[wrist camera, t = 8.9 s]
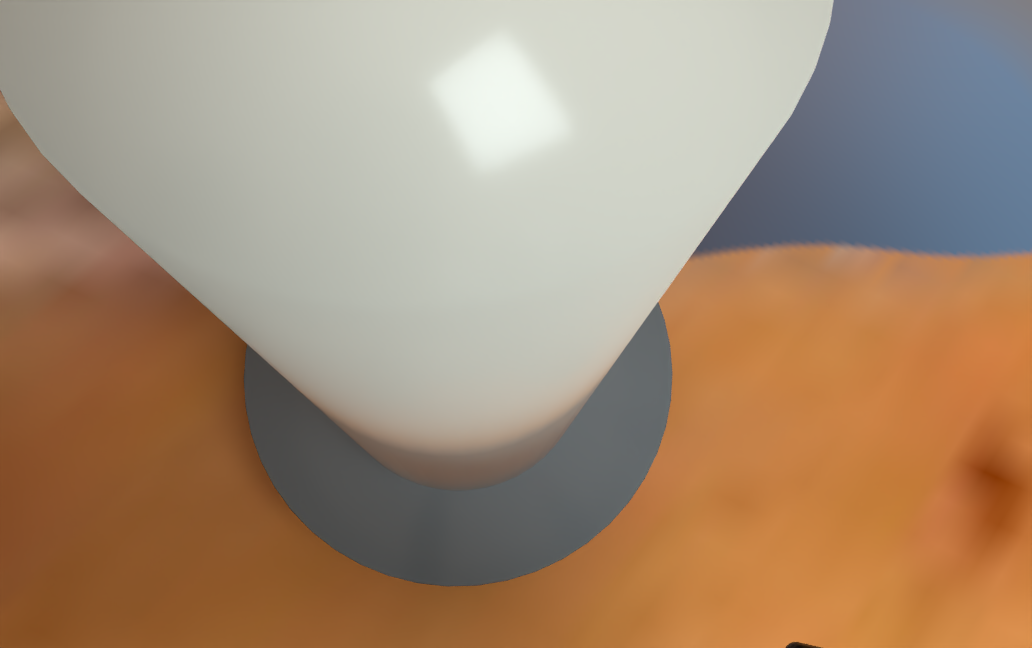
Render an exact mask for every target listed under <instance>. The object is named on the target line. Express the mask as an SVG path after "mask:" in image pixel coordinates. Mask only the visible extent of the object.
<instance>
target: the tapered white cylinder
mask: <svg viewBox="0 0 1032 648" xmlns="http://www.w3.org/2000/svg"><path fill="white" fill-rule="evenodd" d="M833 1H834V0H0V90H1V92H2V94H3V96H4V98H5V100H6V102H7V104H8V106H9V108H10V110H11V111H12V113H13V114H14V115H15V117H16V118H17V120H18V121H19V122H20V124H21V125H22V127H23V128H24V130H25V131H26V132H27V134H28V135H29V137H30V138H31V139H32V141H33V142H34V144H35V145H36V146H37V148H38V149H39V151H40V152H41V153H42V155H43V156H44V157H45V158H46V159H47V160H48V161H49V162H50V163H51V164H52V165H53V166H54V167H55V168H56V169H57V170H58V171H59V172H60V173H61V174H62V175H63V176H64V177H65V178H66V179H67V180H68V181H69V182H70V183H71V184H72V185H73V186H74V187H75V188H76V190H77V191H78V192H79V193H80V194H81V195H82V196H84V197H85V198H86V199H87V200H88V201H89V202H90V203H91V204H92V205H94V206H95V207H96V208H97V209H98V210H99V211H100V212H101V213H102V214H103V215H105V216H106V217H107V218H108V219H109V220H110V221H111V222H112V223H113V224H115V225H116V226H117V227H118V228H119V229H120V230H121V231H122V232H123V233H125V234H126V235H127V236H128V237H129V238H130V239H131V240H132V241H133V242H135V243H136V244H137V245H138V246H139V247H140V248H141V249H142V250H143V251H145V252H146V253H147V254H148V255H149V256H150V257H151V258H152V259H153V260H155V261H156V262H157V263H158V264H159V265H160V266H161V267H162V268H163V269H165V270H166V271H167V272H168V273H169V274H170V275H171V276H172V277H173V278H174V279H176V280H177V281H178V282H179V283H180V284H181V285H182V286H183V287H184V288H186V289H187V290H188V291H189V292H190V293H191V294H192V295H193V296H194V297H196V298H197V299H198V300H199V301H200V302H201V303H202V304H203V305H204V306H206V307H207V308H208V309H209V310H210V311H211V312H212V313H213V314H214V315H216V316H217V317H218V318H219V319H220V320H221V321H222V322H223V323H224V324H226V325H227V326H228V327H229V328H230V329H231V330H232V331H233V332H234V333H235V334H237V335H238V336H239V337H240V338H241V339H242V340H243V341H244V342H245V343H247V344H248V345H249V346H250V347H251V348H252V349H253V350H254V351H255V352H257V353H258V354H259V355H260V356H261V357H262V358H263V359H264V360H265V361H267V362H268V363H269V364H270V365H271V366H272V367H273V368H274V369H275V370H277V371H278V372H279V373H280V374H281V375H282V376H283V377H284V378H285V379H287V380H288V381H289V382H290V383H291V384H292V385H293V386H294V387H295V388H296V389H298V390H299V391H300V392H301V393H302V394H303V395H304V396H305V397H306V398H308V399H309V400H310V401H311V402H312V403H313V404H314V405H315V406H316V407H318V408H319V409H320V410H321V411H322V412H323V413H324V414H325V415H326V416H328V417H329V418H330V419H331V420H332V421H333V422H334V423H335V424H336V425H338V426H339V427H340V428H341V429H342V430H343V431H344V432H345V433H346V434H348V435H349V436H350V437H351V438H352V439H353V440H354V441H355V442H356V443H357V444H359V445H360V446H361V447H362V448H363V449H364V450H365V451H366V452H367V453H369V454H370V455H371V456H372V457H373V458H374V459H375V460H376V461H378V462H379V463H380V464H382V465H383V466H384V467H386V468H387V469H388V470H390V471H391V472H393V473H395V474H397V475H398V476H400V477H402V478H404V479H406V480H409V481H411V482H414V483H416V484H419V485H422V486H426V487H430V488H434V489H441V490H450V491H466V490H475V489H482V488H487V487H490V486H494V485H497V484H501V483H503V482H506V481H508V480H510V479H512V478H515V477H517V476H519V475H520V474H522V473H523V472H525V471H527V470H528V469H530V468H532V467H533V466H534V465H535V464H537V463H538V462H539V461H540V460H541V459H543V458H544V457H545V456H546V455H547V454H548V453H549V452H550V451H551V450H552V448H553V447H554V446H555V445H556V444H557V442H558V441H559V440H560V438H561V437H562V436H563V434H564V433H565V431H566V430H567V429H568V427H569V426H570V424H571V423H572V422H573V420H574V419H575V417H576V416H577V415H578V413H579V412H580V410H581V409H582V408H583V406H584V405H585V403H586V402H587V401H588V399H589V398H590V396H591V395H592V394H593V392H594V391H595V389H596V388H597V387H598V385H599V384H600V382H601V381H602V380H603V378H604V377H605V375H606V374H607V373H608V371H609V370H610V368H611V367H612V366H613V364H614V363H615V361H616V360H617V359H618V357H619V356H620V354H621V353H622V352H623V350H624V349H625V347H626V346H627V345H628V343H629V342H630V340H631V339H632V338H633V336H634V335H635V333H636V332H637V330H638V329H639V328H640V326H641V325H642V323H643V322H644V321H645V319H646V318H647V316H648V315H649V314H650V312H651V311H652V309H653V308H654V307H655V305H656V304H657V302H658V301H659V300H660V298H661V297H662V295H663V294H664V293H665V291H666V290H667V288H668V287H669V286H670V284H671V283H672V281H673V280H674V279H675V277H676V276H677V274H678V273H679V272H680V270H681V269H682V267H683V266H684V265H685V263H686V262H687V260H688V259H689V258H690V256H691V255H692V253H693V252H694V251H695V249H696V248H697V246H698V245H699V244H700V242H701V241H702V239H703V238H704V237H705V235H706V234H707V232H708V231H709V230H710V228H711V227H712V225H713V224H714V223H715V221H716V220H717V218H718V217H719V216H720V214H721V213H722V211H723V210H724V209H725V207H726V206H727V204H728V203H729V201H730V200H731V199H732V197H733V196H734V195H735V193H736V192H737V190H738V189H739V188H740V186H741V185H742V183H743V182H744V180H745V179H746V178H747V176H748V175H749V174H750V172H751V170H752V169H753V168H754V166H755V165H756V164H757V162H758V161H759V159H760V158H761V157H762V155H763V154H764V152H765V151H766V150H767V148H768V146H769V145H770V144H771V143H772V141H773V140H774V138H775V137H776V136H777V134H778V133H779V131H780V130H781V129H782V127H783V126H784V124H785V123H786V122H787V120H788V119H789V117H790V116H791V115H792V113H793V111H794V109H795V107H796V105H797V103H798V101H799V99H800V97H801V95H802V93H803V91H804V89H805V87H806V85H807V84H808V82H809V80H810V78H811V76H812V73H813V72H814V70H815V67H816V64H817V61H818V58H819V55H820V52H821V49H822V46H823V43H824V40H825V37H826V34H827V31H828V28H829V24H830V19H831V13H832V6H833Z"/></svg>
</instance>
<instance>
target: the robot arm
mask: <svg viewBox="0 0 1032 648" xmlns="http://www.w3.org/2000/svg"><path fill="white" fill-rule="evenodd" d="M786 648H821V647H817V646H812V645H808V644H804V643H799V642H792V643H790V644H789V645H787V646H786Z"/></svg>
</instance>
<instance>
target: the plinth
mask: <svg viewBox="0 0 1032 648" xmlns="http://www.w3.org/2000/svg"><path fill="white" fill-rule="evenodd" d="M244 388H245V402H246V410H247V415H248V420H249V425H250V430H251V434H252V437H253V440H254V443H255V446H256V449H257V451H258V454H259V457H260V460H261V462H262V464H263V466H264V468H265V470H266V472H267V474H268V475H269V477H270V479H271V481H272V483H273V485H274V487H275V488H276V490H277V491H278V492H279V494H280V495H281V497H282V498H283V499H284V501H285V502H286V503H287V505H288V506H289V508H290V509H291V510H292V511H293V512H294V513H295V515H296V516H297V517H298V518H299V519H300V520H301V521H302V522H303V523H304V524H305V525H306V526H307V527H308V528H309V529H310V530H311V531H312V532H313V533H314V534H316V535H317V536H318V537H320V538H321V539H322V540H323V541H325V542H326V543H327V544H328V545H330V546H331V547H332V548H334V549H335V550H337V551H338V552H340V553H342V554H343V555H345V556H347V557H349V558H350V559H352V560H354V561H356V562H357V563H359V564H361V565H363V566H366V567H368V568H371V569H373V570H376V571H378V572H381V573H383V574H385V575H388V576H392V577H396V578H400V579H404V580H408V581H412V582H416V583H422V584H431V585H441V586H473V585H483V584H489V583H495V582H501V581H507V580H510V579H513V578H517V577H520V576H523V575H526V574H529V573H533V572H536V571H538V570H540V569H542V568H544V567H546V566H549V565H551V564H553V563H555V562H557V561H559V560H561V559H563V558H565V557H566V556H568V555H569V554H571V553H573V552H574V551H576V550H577V549H579V548H580V547H582V546H583V545H585V544H586V543H588V542H589V541H590V540H591V539H593V538H594V537H595V536H596V535H597V534H598V533H600V532H601V531H602V530H603V529H604V528H605V527H607V526H608V525H609V524H610V523H611V522H612V521H613V519H614V518H615V517H616V516H617V515H618V514H619V513H620V512H621V510H622V509H623V508H624V507H625V506H626V505H627V504H628V503H629V501H630V500H631V498H632V497H633V495H634V494H635V492H636V491H637V489H638V488H639V486H640V485H641V483H642V482H643V480H644V479H645V477H646V475H647V473H648V471H649V469H650V467H651V465H652V463H653V460H654V458H655V456H656V454H657V452H658V449H659V446H660V443H661V440H662V437H663V434H664V431H665V428H666V423H667V418H668V412H669V407H670V402H671V388H672V363H671V351H670V343H669V339H668V334H667V329H666V325H665V320H664V317H663V314H662V312H661V309H660V306H659V303H658V302H657V304H656V305H655V307H654V308H653V309H652V311H651V312H650V314H649V315H648V316H647V318H646V319H645V321H644V322H643V323H642V325H641V326H640V328H639V329H638V330H637V332H636V333H635V335H634V336H633V338H632V339H631V340H630V342H629V343H628V345H627V346H626V347H625V349H624V350H623V352H622V353H621V354H620V356H619V357H618V359H617V360H616V361H615V363H614V364H613V366H612V367H611V368H610V370H609V371H608V373H607V374H606V375H605V377H604V378H603V380H602V381H601V382H600V384H599V385H598V387H597V388H596V389H595V391H594V392H593V394H592V395H591V396H590V398H589V399H588V401H587V402H586V403H585V405H584V406H583V408H582V409H581V410H580V412H579V413H578V415H577V416H576V417H575V419H574V420H573V422H572V423H571V424H570V426H569V427H568V429H567V430H566V431H565V433H564V434H563V436H562V437H561V438H560V440H559V441H558V442H557V444H556V445H555V446H554V447H553V448H552V450H551V451H550V452H549V453H548V454H547V455H546V456H545V457H544V458H543V459H541V460H540V461H539V462H538V463H537V464H535V465H534V466H533V467H532V468H530V469H528V470H527V471H525V472H523V473H522V474H520V475H519V476H517V477H515V478H512V479H510V480H508V481H506V482H503V483H501V484H497V485H494V486H490V487H487V488H482V489H475V490H466V491H450V490H441V489H434V488H430V487H426V486H422V485H419V484H416V483H414V482H411V481H409V480H406V479H404V478H402V477H400V476H398V475H397V474H395V473H393V472H391V471H390V470H388V469H387V468H386V467H384V466H383V465H382V464H380V463H379V462H378V461H376V460H375V459H374V458H373V457H372V456H371V455H370V454H369V453H367V452H366V451H365V450H364V449H363V448H362V447H361V446H360V445H359V444H357V443H356V442H355V441H354V440H353V439H352V438H351V437H350V436H349V435H348V434H346V433H345V432H344V431H343V430H342V429H341V428H340V427H339V426H338V425H336V424H335V423H334V422H333V421H332V420H331V419H330V418H329V417H328V416H326V415H325V414H324V413H323V412H322V411H321V410H320V409H319V408H318V407H316V406H315V405H314V404H313V403H312V402H311V401H310V400H309V399H308V398H306V397H305V396H304V395H303V394H302V393H301V392H300V391H299V390H298V389H296V388H295V387H294V386H293V385H292V384H291V383H290V382H289V381H288V380H287V379H285V378H284V377H283V376H282V375H281V374H280V373H279V372H278V371H277V370H275V369H274V368H273V367H272V366H271V365H270V364H269V363H268V362H267V361H265V360H264V359H263V358H262V357H261V356H260V355H259V354H258V353H257V352H255V351H254V350H253V349H252V348H251V347H250V346H249V345H248V344H247V349H246V357H245V371H244Z"/></svg>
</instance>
